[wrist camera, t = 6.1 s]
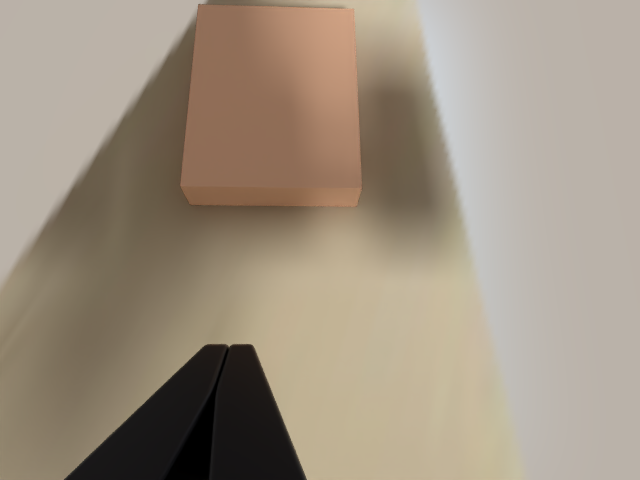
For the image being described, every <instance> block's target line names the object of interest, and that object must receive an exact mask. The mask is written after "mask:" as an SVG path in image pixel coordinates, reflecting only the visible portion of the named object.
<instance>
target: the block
mask: <svg viewBox="0 0 640 480" xmlns="http://www.w3.org/2000/svg"><path fill="white" fill-rule="evenodd" d="M180 187H181V189H182V191H183V193H184V195H185V196H186V198H187V200H188V202H189V204H190V205H245V206H357V203H358V200H359V197H360V193H361V190H362V177H361V154H360V132H359V109H358V87H357V65H356V42H355V20H354V9H338V8H305V7H272V6H238V5H205V4H198V12H197V22H196V32H195V42H194V52H193V62H192V72H191V82H190V92H189V102H188V112H187V122H186V132H185V142H184V152H183V162H182V172H181V182H180Z"/></svg>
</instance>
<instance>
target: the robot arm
mask: <svg viewBox="0 0 640 480" xmlns="http://www.w3.org/2000/svg"><path fill="white" fill-rule="evenodd" d="M64 480H307V479H306V476H305V474H304V471H303V469H302V466H301V464H300V461H299V459H298V456H297V454H296V451H295V449H294V446H293V444H292V441H291V439H290V436H289V434H288V431H287V429H286V426H285V424H284V421H283V418H282V416H281V413H280V411H279V408H278V406H277V403H276V401H275V398H274V396H273V393H272V391H271V388H270V386H269V383H268V381H267V378H266V376H265V373H264V371H263V368H262V366H261V363H260V361H259V358H258V356H257V353H256V351H255V348H254V346H253V345H251V344H233V345H231V346H230V347H229V346H228V345H226V344H207V345H205V346H204V347H202V348H201V349H200V350H199V351H198V352H197V353H196V354H195V355H194V356H193V357H192V358H191V359H190V360H189V361H188V362H187V363H186V364H185V365H184V366H183V367H181V368H180V369H179V370H178V371H177V372H176V373H175V374H174V375H173V376H172V377H171V378H170V379H169V380H168V381H167V382H166V383H165V384H164V385H163V386H162V387H161V388H159V389H158V390H157V391H156V392H155V393H154V394H153V395H152V396H151V397H150V398H149V399H148V400H147V401H146V402H145V403H144V404H143V405H142V406H141V407H140V408H138V409H137V410H136V411H135V412H134V413H133V414H132V415H131V416H130V417H129V418H128V419H127V420H126V421H125V422H124V423H123V424H122V425H121V426H120V427H119V428H117V429H116V430H115V431H114V432H113V433H112V434H111V435H110V436H109V437H108V438H107V439H106V440H105V441H104V442H103V443H102V444H101V445H100V446H99V447H98V448H96V449H95V450H94V451H93V452H92V453H91V454H90V455H89V456H88V457H87V458H86V459H85V460H84V461H83V462H82V463H81V464H80V465H79V466H78V467H77V468H76V469H74V470H73V471H72V472H71V473H70V474H69V475H68V476H67V477H66V478H65V479H64Z"/></svg>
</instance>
